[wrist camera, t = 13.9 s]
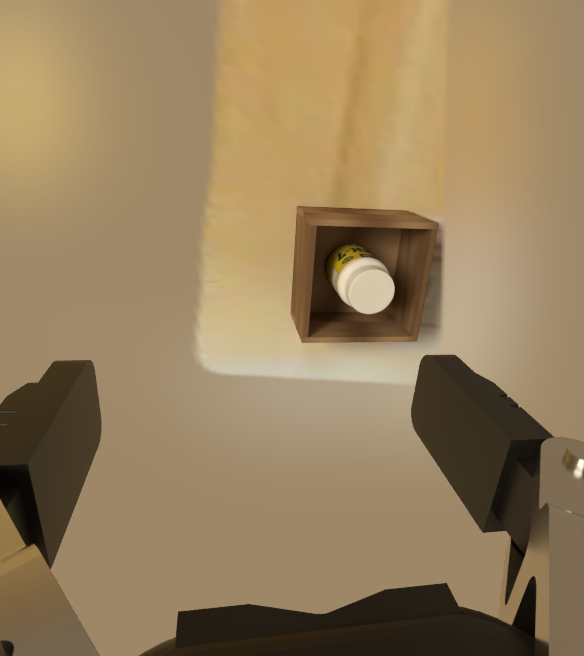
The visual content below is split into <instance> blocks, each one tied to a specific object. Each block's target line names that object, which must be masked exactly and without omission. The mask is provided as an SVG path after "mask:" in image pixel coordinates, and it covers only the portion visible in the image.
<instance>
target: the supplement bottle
mask: <svg viewBox="0 0 584 656" xmlns="http://www.w3.org/2000/svg"><path fill="white" fill-rule="evenodd" d="M324 268H325V274H326V276H327V278H328V280H329V281H330V283H331V284H332V286H333V287H334V289H335V290H336V292H337V293H338V295H339V296H340V297H341V299H342V300H343V301H344V302H345V303H346V304H348V305H349V306H351V307H353V308H354V309H356V310H357V311H359V312H361V313H364V314H374V313H377V312H380V311H382V310H383V309H385V308H386V307H387V306H388V305H389V304H390V302H391V301H392V299H393V296H394V291H395V286H394V282H393V280H392V278H391V277H390V275H389V272H388V270H387V268H386V266H385V265H384V264H383V263H382V262H381V261H380V260H378V259H377V258H376V257H375V256H374V255H372V254H371V253H370V252H369V251H368V250H366V249H365V248H364V247H363V246H361V245H359V244H357V243H352V242H347V243H342V244H340V245H338V246H336V247H335V248H333V249H332V250H331V251H330V252H329V254H328V256H327V258H326V260H325V266H324Z"/></svg>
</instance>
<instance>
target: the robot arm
mask: <svg viewBox="0 0 584 656" xmlns="http://www.w3.org/2000/svg"><path fill="white" fill-rule="evenodd" d="M411 418H412V423H413V427H414V429H415V431H416V433H417V435H418V436H419V437H420V439H421V441H422V442H423V444H424V445H425V446H426V448H427V450H428V451H429V453H430V454H431V456H432V457H433V459H434V460H435V461H436V463H437V465H438V466H439V467H440V469H441V471H442V472H443V474H444V475H445V477H446V478H447V480H448V481H449V483H450V484H451V486H452V487H453V489H454V490H455V492H456V493H457V495H458V496H459V497H460V499H461V501H462V502H463V504H464V505H465V507H466V508H467V509H468V511H469V513H470V514H471V516H472V517H473V519H474V520H475V522H476V523H477V525H478V526H479V528H480V529H481V531H482V532H483V533H486V532H497V531H507V532H508V534H509V535H510V538H509V541H508V544H507V547H506V551H505V560H504V569H503V579H502V587H501V596H500V605H499V614H498V618H495V617H492V616H490V615H487V614H484V613H482V612H479V611H475V610H472V609H468V608H464V607H459V606H458V604H457V602H456V601H455V599H454V597H453V595H452V593H451V591H450V589H449V587H448V585H447V583H443V584H434V585H424V586H415V587H405V588H397V589H387V590H383V591H381V592H378V593H376V594H374V595H371V596H369V597H366V598H364V599H362V600H359V601H357V602H354V603H352V604H349V605H347V606H344V607H342V608H339V609H337V610H334V611H332V612H329V613H326V614H312V613H305V612H298V611H292V610H285V609H279V608H272V607H265V606H258V605H252V604H251V605H250V604H246V605H237V606H227V607H218V608H209V609H199V610H190V611H180V612H178V619H177V631H176V637H175V638H173V639H170V640H168V641H165V642H163V643H161V644H159V645H157V646H155V647H153V648H151V649H149V650H147V651H145V652H144V653H143V654H141V655H139V656H584V442H582V441H579V440H575V439H570V438H564V437H563V438H562V437H553V436H552V435H551V434H550V433H549V432H548V431H547V430H546V429H545V428H543V427H542V426H541V425H540V424H539V423H538V422H537V421H536V420H535V419H533V418H532V417H531V416H530V415H529V414H528V413H527V412H526V411H525V410H523V409H522V408H521V407H518V404H517V403H516V402H514V401H513V400H512V399H511V398H510V397H507V394H506V393H505V392H504V391H502V390H501V389H500V388H499V387H498V386H497V385H496V384H495V383H493V382H491V381H489V380H488V379H486V378H484V377H482V376H480V375H478V374H476V373H475V372H473V371H472V370H471V369H470V368H469V367H468V366H467V365H466V364H465V363H464V362H463V361H462V360H461V359H459V358H458V357H457V356H456V355H426V356H424V357H423V358H422V360H421V362H420V366H419V371H418V376H417V381H416V387H415V392H414V397H413V402H412V408H411ZM100 436H101V413H100V406H99V398H98V391H97V383H96V375H95V369H94V365H93V363H92V361H91V360H72V361H54V362H53V363H52V364H51V366H50V367H49V368H48V370H47V371H46V373H45V374H44V375H43V377H42V378H41V379H40V381H39V382H38V383H27V384H25V385H24V386H22V387H21V388H19V389H18V390H16V391H14V392H13V393H11V394H10V395H8V396H7V397H6V398H5V399H4V401H3V402H2V403H1V405H0V656H100V655H99V653H98V651H97V650H96V648H95V646H94V644H93V643H92V641H91V639H90V637H89V636H88V634H87V632H86V630H85V629H84V627H83V625H82V624H81V622H80V620H79V618H78V617H77V615H76V613H75V611H74V610H73V608H72V606H71V605H70V603H69V601H68V599H67V598H66V596H65V594H64V592H63V591H62V589H61V587H60V585H59V584H58V582H57V580H56V578H55V577H54V575H53V573H52V572H51V570H50V569H51V567H52V565H53V562H54V560H55V557H56V554H57V552H58V549H59V547H60V544H61V542H62V539H63V536H64V534H65V531H66V528H67V526H68V523H69V521H70V518H71V516H72V513H73V510H74V508H75V505H76V503H77V500H78V498H79V495H80V492H81V489H82V487H83V485H84V482H85V479H86V477H87V474H88V471H89V469H90V466H91V464H92V461H93V459H94V456H95V453H96V451H97V448H98V446H99V442H100Z"/></svg>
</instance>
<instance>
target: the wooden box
mask: <svg viewBox="0 0 584 656" xmlns="http://www.w3.org/2000/svg"><path fill="white" fill-rule="evenodd" d="M438 225H439V223H436V222H434V221H431V220H429V219H427V218H424V217H422V216H419V215H417V214H414V213H412V212H409V211H405V210H379V209H353V208H327V207H302V206H297V219H296V236H295V252H294V268H293V285H292V301H291V316H292V319H293V321H294V324H295V326H296V329H297V331H298V334H299V336H300V339H301V341H302V343H321V342H406V341H417V338H418V332H419V327H420V322H421V316H422V311H423V306H424V300H425V295H426V290H427V284H428V279H429V273H430V268H431V263H432V257H433V252H434V247H435V241H436V236H437V230H438ZM347 242H352V243H357V244H359V245H361V246H363V247H364V248H365V249H366V250H368V251H369V252H370V253H371V254H372V255H374V256H375V257H376V258H377V259H378V260H380V261H381V262H382V263H383V264H384V265H385V266H386V268H387V270H388V272H389V275H390V277H391V278H392V280H393V282H394V286H395V291H394V296H393V299H392V301H391V302H390V304H389V305H388V306H387V307H386V308H385V309H383V310H382V311H380V312H377V313H374V314H364V313H361V312H359V311H357V310H356V309H354V308H353V307H351V306H349V305H348V304H346V303H345V302H344V301H343V300H342V299H341V297H340V296H339V295H338V293H337V292H336V290H335V289H334V287H333V286H332V284H331V283H330V281H329V280H328V278H327V276H326V274H325V268H324V266H325V260H326V258H327V256H328V254H329V252H330V251H331V250H332V249H333V248H335V247H336V246H338V245H340V244H342V243H347Z"/></svg>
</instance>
